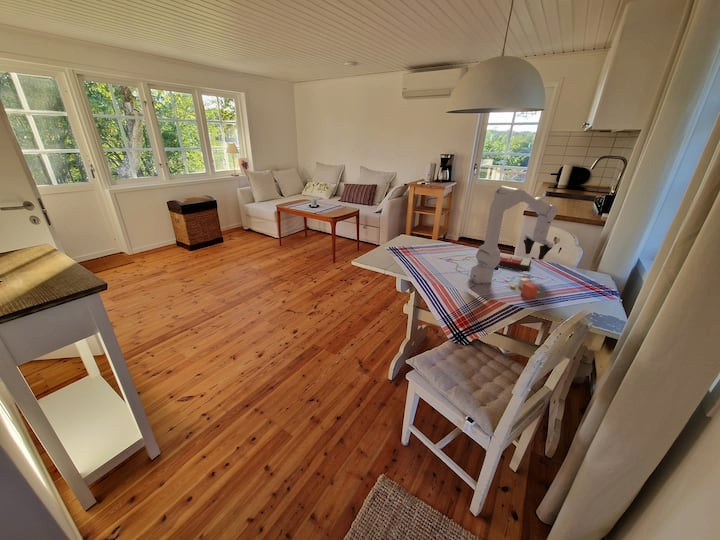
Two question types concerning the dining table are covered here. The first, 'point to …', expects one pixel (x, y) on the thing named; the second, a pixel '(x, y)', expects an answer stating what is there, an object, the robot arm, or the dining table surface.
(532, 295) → the block
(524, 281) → the switch handle
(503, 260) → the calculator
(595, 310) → the dining table surface
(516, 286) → the panel
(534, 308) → the dining table surface
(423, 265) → the dining table surface
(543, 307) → the dining table surface
